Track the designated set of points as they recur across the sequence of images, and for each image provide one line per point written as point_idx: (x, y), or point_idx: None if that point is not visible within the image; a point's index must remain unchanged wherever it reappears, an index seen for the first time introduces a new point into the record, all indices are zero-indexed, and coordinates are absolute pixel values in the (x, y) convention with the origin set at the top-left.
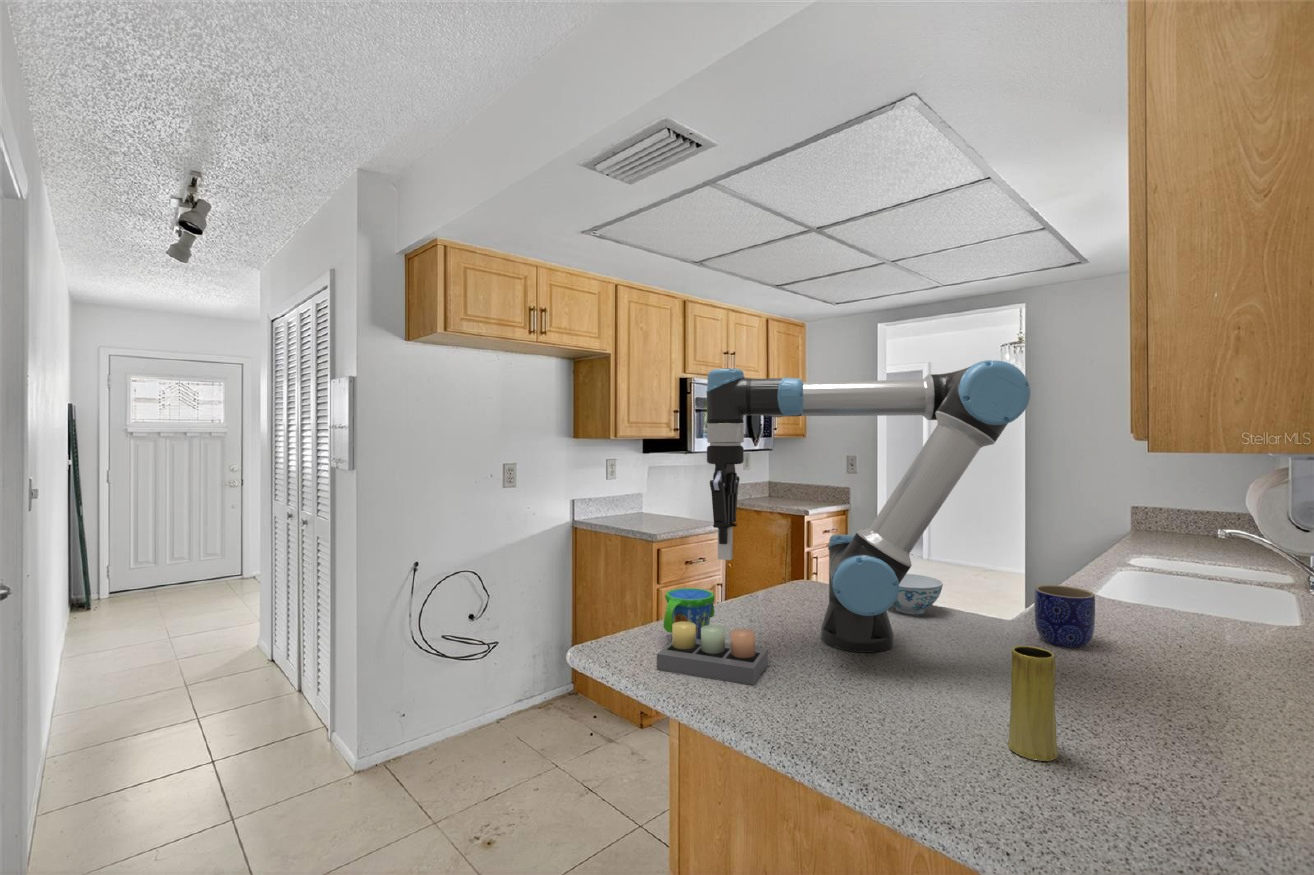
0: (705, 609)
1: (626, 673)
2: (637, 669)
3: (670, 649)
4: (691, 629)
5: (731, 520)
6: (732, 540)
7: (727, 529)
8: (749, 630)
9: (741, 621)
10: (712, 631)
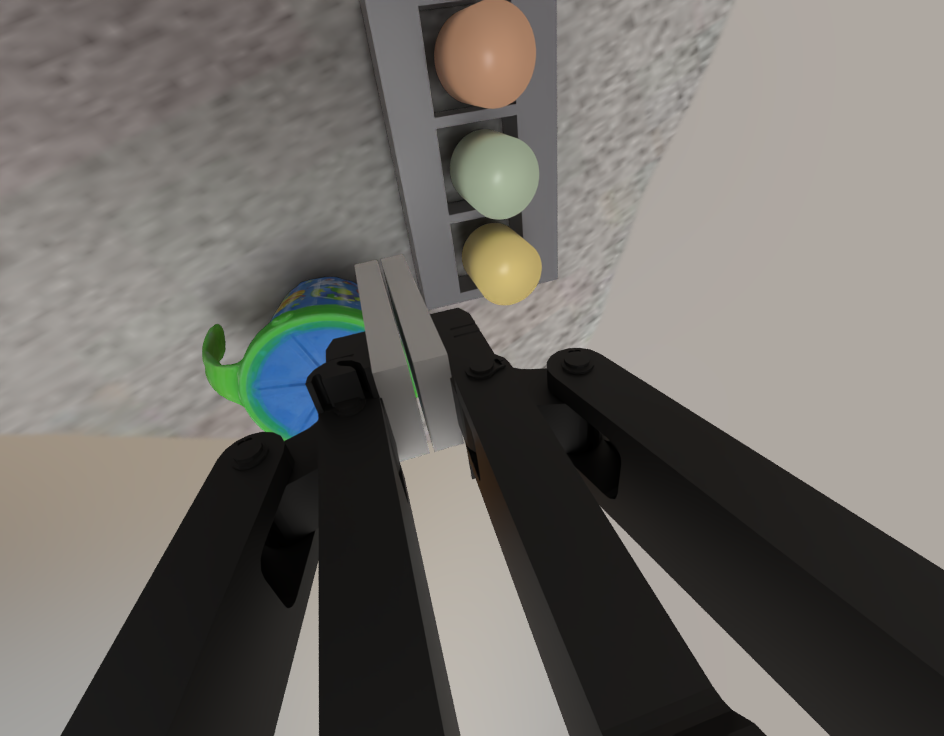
0: (342, 304)
1: (582, 301)
2: (556, 298)
3: None
4: (522, 240)
5: (384, 424)
6: (366, 315)
7: (449, 370)
8: (459, 42)
9: (37, 289)
10: (527, 167)
